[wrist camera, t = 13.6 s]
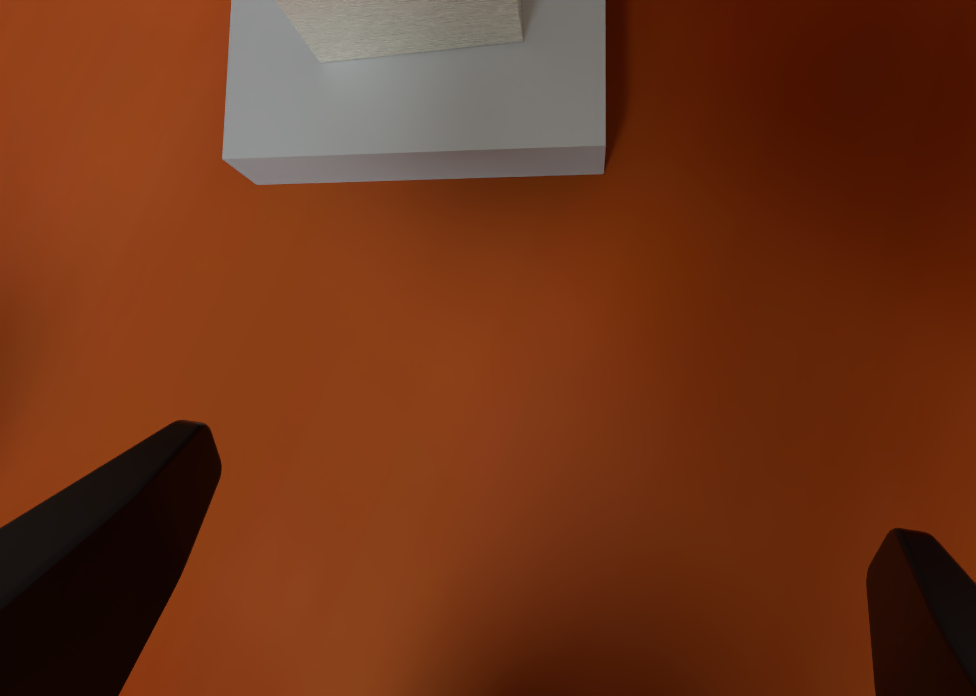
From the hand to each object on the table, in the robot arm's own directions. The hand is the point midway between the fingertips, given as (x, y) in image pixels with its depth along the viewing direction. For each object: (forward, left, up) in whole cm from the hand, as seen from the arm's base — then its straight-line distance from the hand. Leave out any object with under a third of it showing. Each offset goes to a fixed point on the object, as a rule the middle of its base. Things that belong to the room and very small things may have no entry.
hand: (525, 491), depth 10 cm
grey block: (+6, +15, -14) cm, 21 cm away
